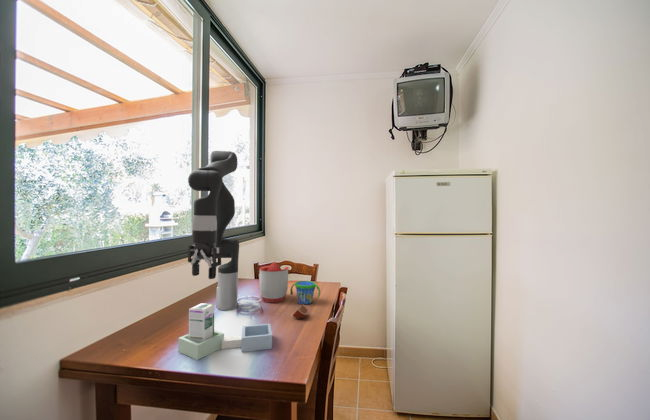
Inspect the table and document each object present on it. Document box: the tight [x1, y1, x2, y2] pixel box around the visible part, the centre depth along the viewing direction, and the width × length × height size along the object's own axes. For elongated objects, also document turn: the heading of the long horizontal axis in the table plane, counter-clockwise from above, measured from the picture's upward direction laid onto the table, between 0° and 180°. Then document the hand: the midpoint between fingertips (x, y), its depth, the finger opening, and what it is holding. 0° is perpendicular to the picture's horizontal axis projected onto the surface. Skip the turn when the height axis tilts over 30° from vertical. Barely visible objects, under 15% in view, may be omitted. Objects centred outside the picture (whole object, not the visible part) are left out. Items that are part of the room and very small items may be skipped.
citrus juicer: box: [258, 262, 290, 304], centre depth 145 cm, size 16×17×20 cm
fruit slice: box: [292, 304, 310, 320], centre depth 120 cm, size 8×7×5 cm
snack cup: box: [289, 280, 321, 305], centre depth 140 cm, size 16×10×10 cm
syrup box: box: [188, 302, 215, 343], centre depth 91 cm, size 6×6×14 cm
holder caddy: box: [177, 323, 273, 361], centre depth 93 cm, size 30×14×4 cm, turn 105°
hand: (203, 277), depth 91 cm, fingers open, 8 cm apart
